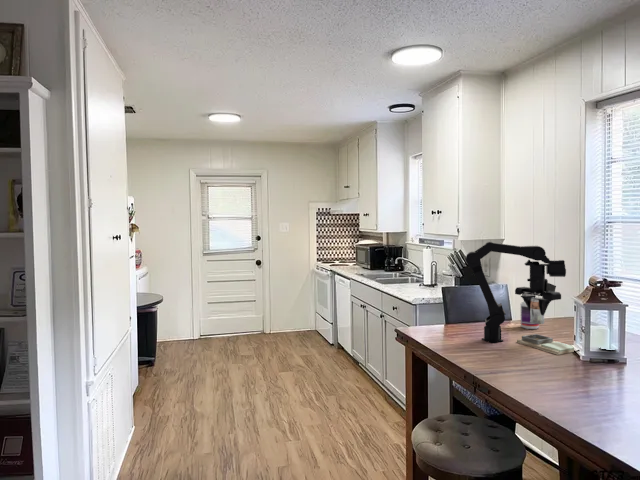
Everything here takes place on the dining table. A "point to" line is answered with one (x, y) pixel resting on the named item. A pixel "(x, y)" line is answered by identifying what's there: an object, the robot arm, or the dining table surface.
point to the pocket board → (546, 344)
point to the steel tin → (535, 311)
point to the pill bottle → (526, 318)
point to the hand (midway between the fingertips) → (537, 314)
